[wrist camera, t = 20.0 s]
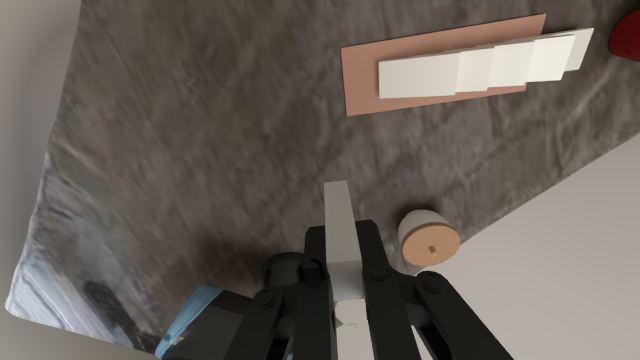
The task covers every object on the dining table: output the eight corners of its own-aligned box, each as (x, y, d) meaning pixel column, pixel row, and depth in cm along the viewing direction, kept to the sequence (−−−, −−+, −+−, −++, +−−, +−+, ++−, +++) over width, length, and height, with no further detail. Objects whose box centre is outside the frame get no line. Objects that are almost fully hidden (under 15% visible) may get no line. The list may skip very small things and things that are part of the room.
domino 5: (505, 80, 34) (579, 69, 34) (514, 40, 32) (594, 27, 31) (496, 78, 36) (566, 67, 35) (504, 40, 34) (580, 28, 33)
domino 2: (407, 94, 36) (486, 90, 31) (408, 57, 33) (495, 47, 29) (409, 91, 37) (485, 87, 33) (410, 56, 35) (493, 46, 30)
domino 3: (439, 89, 35) (524, 85, 31) (442, 52, 33) (536, 41, 28) (439, 86, 37) (521, 82, 32) (443, 50, 34) (532, 40, 30)
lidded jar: (452, 207, 50) (478, 240, 41) (425, 243, 55) (444, 278, 47) (406, 194, 48) (423, 226, 40) (383, 232, 53) (394, 267, 45)
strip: (346, 115, 40) (347, 116, 39) (340, 48, 35) (340, 48, 34) (522, 89, 38) (525, 90, 37) (542, 14, 33) (546, 13, 32)
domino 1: (379, 98, 36) (454, 95, 31) (378, 62, 33) (460, 52, 29) (382, 95, 37) (455, 91, 33) (382, 60, 35) (460, 51, 30)
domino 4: (469, 85, 35) (560, 79, 30) (476, 46, 32) (576, 35, 28) (469, 82, 36) (556, 77, 32) (475, 45, 34) (570, 34, 29)
